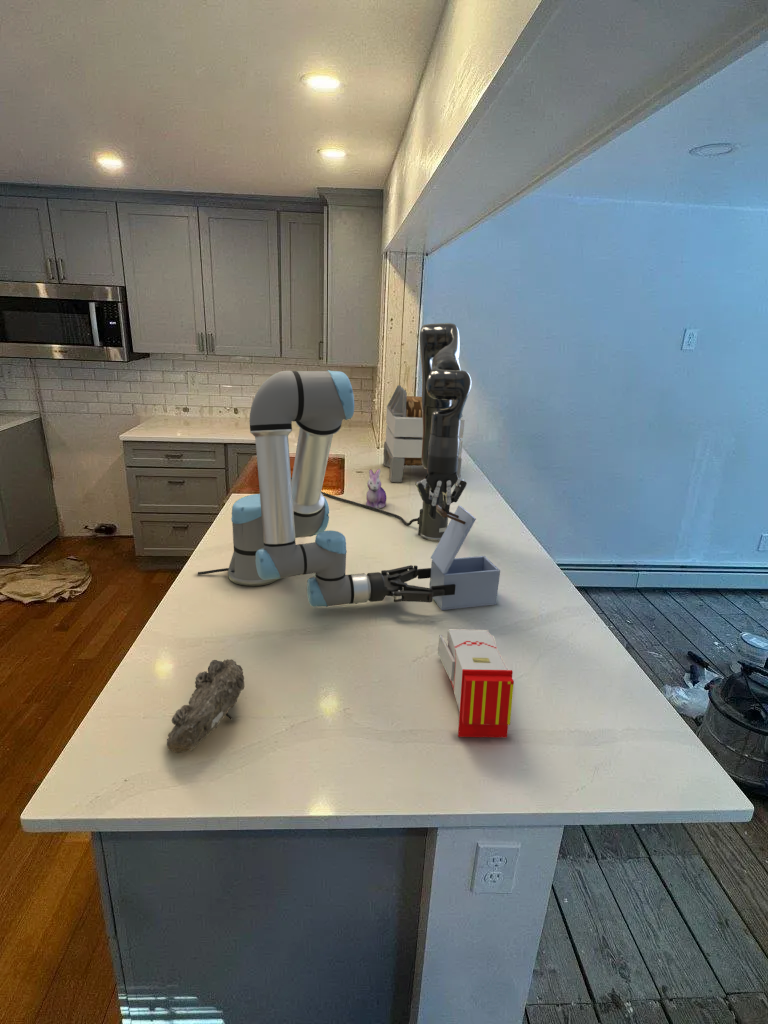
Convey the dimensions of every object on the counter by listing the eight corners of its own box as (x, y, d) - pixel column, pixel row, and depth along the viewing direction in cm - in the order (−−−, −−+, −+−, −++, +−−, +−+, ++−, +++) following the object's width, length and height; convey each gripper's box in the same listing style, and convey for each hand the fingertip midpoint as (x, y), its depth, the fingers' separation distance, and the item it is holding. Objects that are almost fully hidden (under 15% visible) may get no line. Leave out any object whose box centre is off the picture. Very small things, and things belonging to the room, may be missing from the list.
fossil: (192, 660, 117) (244, 628, 112) (224, 691, 120) (276, 661, 115) (142, 746, 98) (202, 712, 93) (182, 779, 101) (242, 748, 96)
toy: (488, 613, 130) (523, 677, 101) (484, 667, 133) (517, 744, 104) (435, 612, 130) (455, 676, 101) (432, 666, 133) (451, 743, 103)
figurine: (370, 511, 220) (372, 474, 215) (359, 503, 229) (360, 467, 224) (392, 508, 224) (394, 471, 219) (380, 500, 233) (381, 465, 228)
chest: (481, 588, 163) (484, 555, 160) (496, 604, 155) (500, 570, 151) (429, 593, 159) (431, 559, 156) (441, 610, 150) (444, 575, 147)
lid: (461, 506, 152) (436, 495, 149) (476, 518, 144) (450, 507, 141) (433, 558, 156) (408, 549, 152) (445, 574, 147) (419, 564, 144)
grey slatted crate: (382, 463, 289) (386, 382, 275) (445, 464, 293) (451, 384, 279) (390, 482, 257) (394, 392, 243) (460, 483, 261) (468, 394, 247)
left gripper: (357, 581, 159) (432, 574, 165) (377, 622, 139) (462, 613, 145) (358, 556, 156) (434, 551, 162) (379, 595, 136) (464, 587, 142)
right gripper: (421, 457, 135) (417, 524, 141) (475, 455, 139) (469, 521, 145) (411, 449, 142) (408, 514, 148) (463, 448, 145) (457, 511, 151)
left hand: (447, 580), depth 154 cm, fingers closed on chest, 10 cm apart
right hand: (438, 517), depth 146 cm, fingers closed
